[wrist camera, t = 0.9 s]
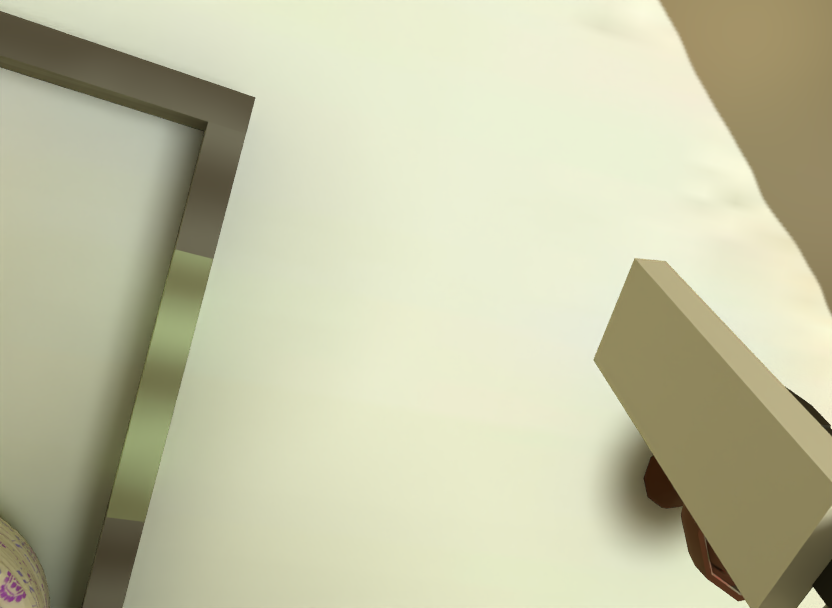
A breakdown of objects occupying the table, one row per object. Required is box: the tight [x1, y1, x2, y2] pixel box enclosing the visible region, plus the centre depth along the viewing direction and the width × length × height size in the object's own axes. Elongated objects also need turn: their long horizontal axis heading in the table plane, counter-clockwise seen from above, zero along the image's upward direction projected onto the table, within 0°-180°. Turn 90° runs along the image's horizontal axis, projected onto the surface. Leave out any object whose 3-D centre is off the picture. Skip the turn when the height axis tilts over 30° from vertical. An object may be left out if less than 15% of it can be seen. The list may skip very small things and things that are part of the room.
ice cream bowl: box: [644, 455, 745, 601], centre depth 50 cm, size 11×11×15 cm
